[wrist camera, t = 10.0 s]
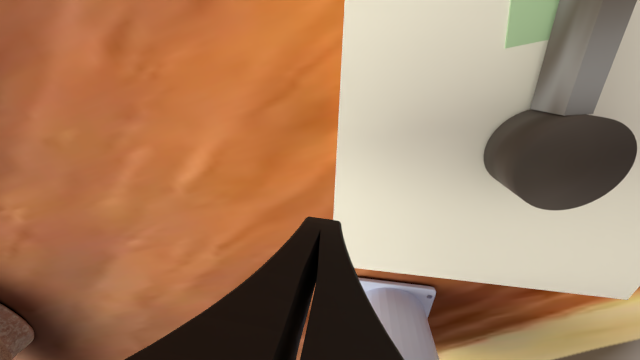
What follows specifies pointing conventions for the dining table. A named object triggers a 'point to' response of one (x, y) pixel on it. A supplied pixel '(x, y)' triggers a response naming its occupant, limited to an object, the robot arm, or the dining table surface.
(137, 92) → the dining table surface
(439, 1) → the dial plate
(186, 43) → the dining table surface
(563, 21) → the grey lever with knob
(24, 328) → the ceramic pot
